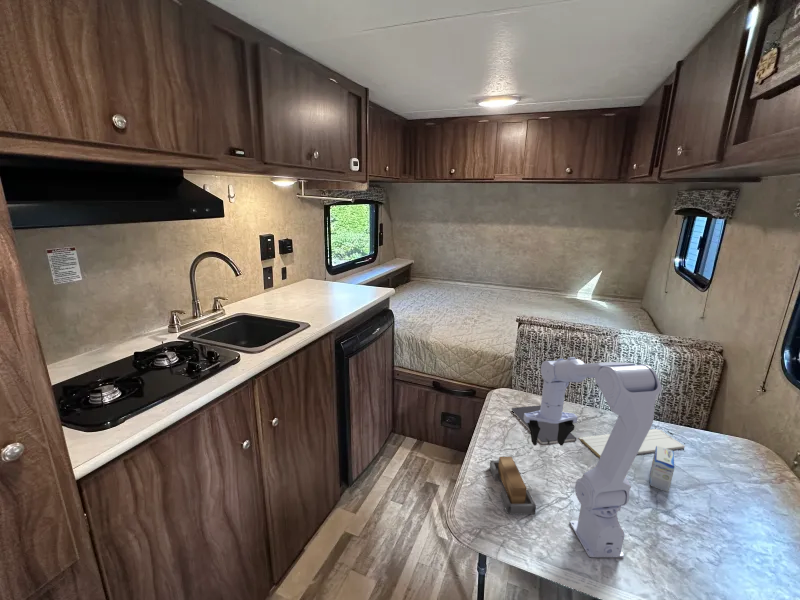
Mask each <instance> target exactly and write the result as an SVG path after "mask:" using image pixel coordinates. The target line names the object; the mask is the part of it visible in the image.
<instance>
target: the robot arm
mask: <svg viewBox="0 0 800 600" xmlns="http://www.w3.org/2000/svg"><path fill="white" fill-rule="evenodd" d="M540 375H541V377H542V380H543V386H542V393H541V402H540V405H541V408H540V410H539V411H535V412H531V413H524V421H525V422H526V423H528V426H529V429H530V431H529V433H530V439H531V443H532V445H533V446H538V440H537V439H538V434H539V431H540V427H539V426H538V422H548V423H559V430H558V437H557V441H558V444H559V446H560V447H562V446H563V445H564V444H565V442H564V441H565V440H566V438H567V436H568V435H569V434H570V433H571V434H572V432H573V431H574V430H575V426H576V425H575V424H577V423H578V415H576V414H575V413H573V412H567V411H566V412H564V411H563V410H564V402H565V396H566V389H567V388H568V387H569V384H570V383H582V382H584V381H585V380H586V379H587V378H590V379H591V378H592V379H594V382H595V384H596V385H597V386H598V388H599V391H600V392H601V394H602V396H603V398H604V399H605V401H606V403H607V405H608V407H609V409H610V411H611V412H612V413H613V414H615V415H617V419H616V420H615V423H614V426H613V427H612V430H611V432H610V433H609V434H610V436H609V439H608V441H607V443H606V445H605V447H604V450H603V452H602V454H601V456H600V458H598V460H597V464H596V465H595V466H594V467H593V468H591V469H588V470H587V471H586V472H584V473H582V474H583V475H582V476H581V478H578V479H577V480H576V481H575V486H574V492H575V495H576V498H577V500H578V502H579V504H580V508H579V513H578V519H577V520H576V519H575V520H572V519H571V520H569V525H570V526H571V528H572V529H573V531H574V533H575V535H576V537H577V539H578V540H579V541H580V543H581V545H582V547H583V549H584V551H585V552H586V554H587V556H588V557H589V558H624V557H625V553H623V550H622V549H623V544H624V539H625V532H624V530H623V528H622V526H621V523H620V521H619V518H618V512H621V510H622V509H621V508H622V507H624V506H627V505H628V503H629V502H630V490H631V488H632V486H631V483H630V481H629V480H628V478H627V477H626V476H627V474H628V472H629V471H630V468H631V466H633V463H634V462H635V459H636V457H637V455H638V454H637V453H638V451H639V449H640V447H641V445H642V443H643V442H644V440H645V438H646V436H647V434H648V432H649V430H651V428H652V425H653V423H654V420H655V419H654V416H655V408H656V406H655V405H656V401H657V399H658V397H659V395H660V393H661V391H662V389H663V388H662V387H663V386H662V384H661V382H660V379H659V377H658V374H657V372H656V371H655V370H654V369H653V368H652V367H651V366H649V364H645V363H640V364H636V363H632V362H617V361H610V362H609V361H606V362H605V361H603V362H592V363H585V362H584V361H583V360H582V359H578V358H576V357H575V356H571V357H570V356H568V357H567V359H564V358H557V359H556V360H545V361H543V362H542V363H541V366H540Z"/></svg>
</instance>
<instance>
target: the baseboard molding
mask: <svg viewBox="0 0 800 600" xmlns="http://www.w3.org/2000/svg"><path fill="white" fill-rule="evenodd" d="M657 427H658V425H656V426H655V425H654V427H653V429H651V428H650V430H649V432H648V434H647V436H646V438H645V440H644V442H643V443H642V445H641V447H640V449H639V451H638V453H637V455H642V454H647V453H655V449H656V446H659V447H663V448H666V449H669V450H671V451H674V450H679V449H680V450H681V449H685V447H686V446H685V445H686V443H685V442H683V441H681V440H680V439H678V438H677V437H675V436H674V434H673V433H672V432H671V431H669V430H665V429H662V427H660V426H659V427H660V428H661V429H658V428H657ZM664 431H665V432H666V433H665V432H664ZM667 433H668V434H667ZM610 434H611V433H608V434H607V433H606V434H599V435H592V436H591V435H590V436H583V437H578V439H579V440H580V441H581V442H582V443H583V444H584V445H585V446H586V447H587V448H588V449H589V450H591V451H592V452H593V453H594V455H596V456H597V457H599V458H598V459H600V456H601V454H602V452H603V450H604V447H605V445H606V443H607V441H608V439H609V436H610ZM672 436H673V437H674V438H673V437H672ZM676 439H677V440H676ZM679 441H680V442H682V443H680V442H679Z"/></svg>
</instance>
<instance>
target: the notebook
mask: <svg viewBox="0 0 800 600" xmlns="http://www.w3.org/2000/svg"><path fill="white" fill-rule="evenodd" d="M540 408H541V404H540V405H532V406H531V405H530V406H529V405H528V406H521V407H520V406H519V407H512V408H511V412H512V411H513V412H514V413H513V412H512V413H513V415H514V416H515V415H516V416H517V417H518V418H519V419H520V420H521V421H520V420H519V419H518V418H517V417H516V418H517V419H518V420H519V421H520V422H521V423H522V424H523V425H524V427H525V426H526V427H527V428H528V429H527V428H526V427H525V428H526V429H527V430H528V431H529V432H530V429H529V426H528V423H526V422H525V421H524V413H531V412H535V411H539V410H540ZM538 426H539V427H540V431H539V434H538V439H537V442H539V443H540V444H542V445H550V444H557V443H558V441H557V437H558V430H559V423H548V422H538ZM574 441H577V437H576V436H575V435H573V433H572V432H571V433H570V434H569V435H568V436H567V438H566V440H565V441H564V443H565V442H574ZM558 444H559V443H558Z"/></svg>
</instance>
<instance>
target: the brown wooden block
mask: <svg viewBox="0 0 800 600" xmlns="http://www.w3.org/2000/svg"><path fill="white" fill-rule="evenodd" d="M498 461H499V467H498V473H499V475H500V478H501V480H502V481H501V483H502V485H503V486H504V487H503V488H504V490H505V492H506V494H507V495H508V497H509V500H510V502H511V504H525V497H526V490H528V489H527V486H526V483H525V482H524V480H523V478H522V477H523V476H521V472H520V470H519V468H518V466H517V464H516V462H515V460H514V459H513V457H512V456H499V458H498ZM514 462H515V463H514ZM515 464H516V465H515ZM516 466H517V467H516ZM517 468H518V469H517ZM518 470H519V471H518ZM519 472H520V473H519Z"/></svg>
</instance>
